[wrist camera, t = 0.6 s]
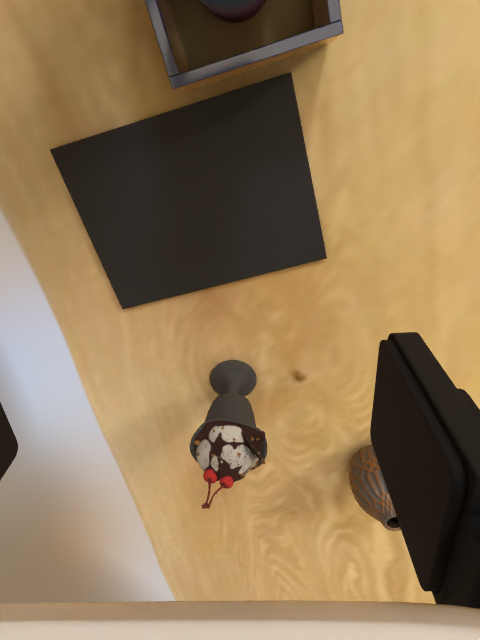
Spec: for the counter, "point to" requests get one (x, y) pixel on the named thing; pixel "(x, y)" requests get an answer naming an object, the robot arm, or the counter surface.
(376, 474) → the vase
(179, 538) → the counter surface
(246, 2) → the cup
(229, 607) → the robot arm
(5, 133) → the counter surface
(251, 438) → the sundae
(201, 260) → the mat
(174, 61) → the holder
